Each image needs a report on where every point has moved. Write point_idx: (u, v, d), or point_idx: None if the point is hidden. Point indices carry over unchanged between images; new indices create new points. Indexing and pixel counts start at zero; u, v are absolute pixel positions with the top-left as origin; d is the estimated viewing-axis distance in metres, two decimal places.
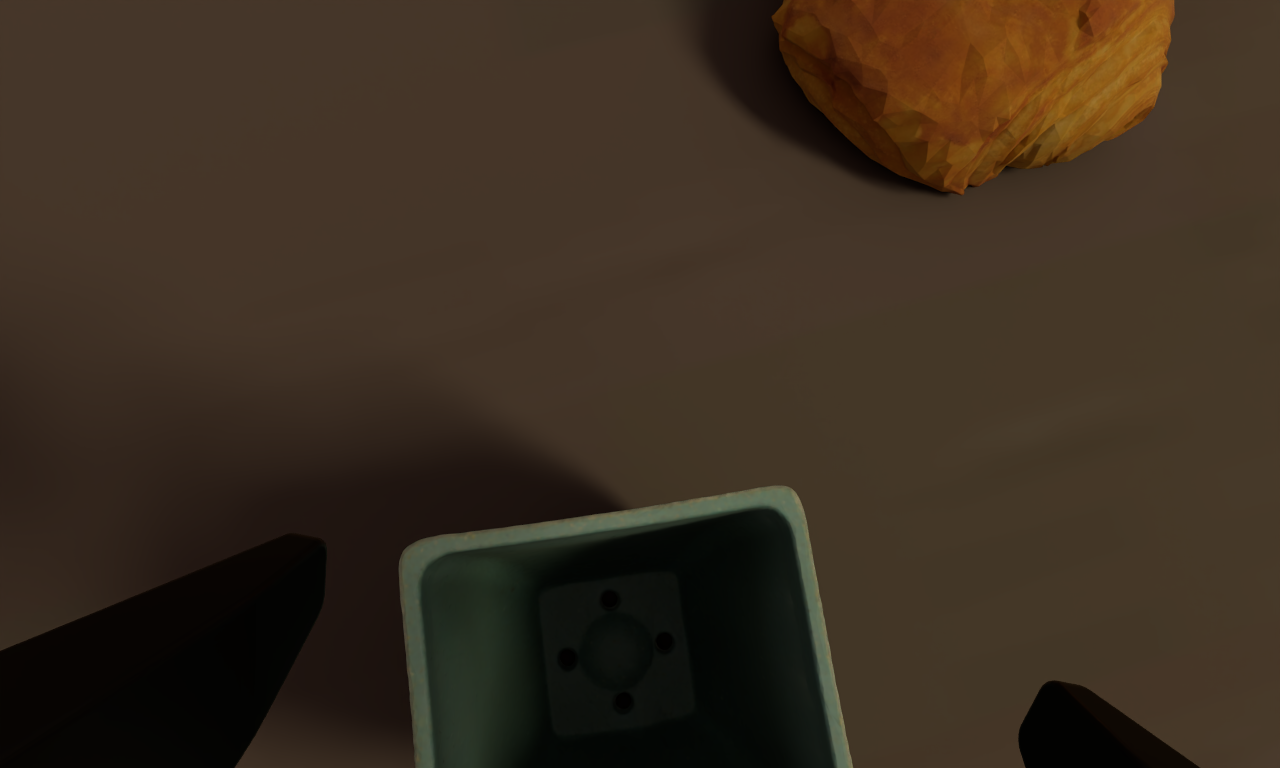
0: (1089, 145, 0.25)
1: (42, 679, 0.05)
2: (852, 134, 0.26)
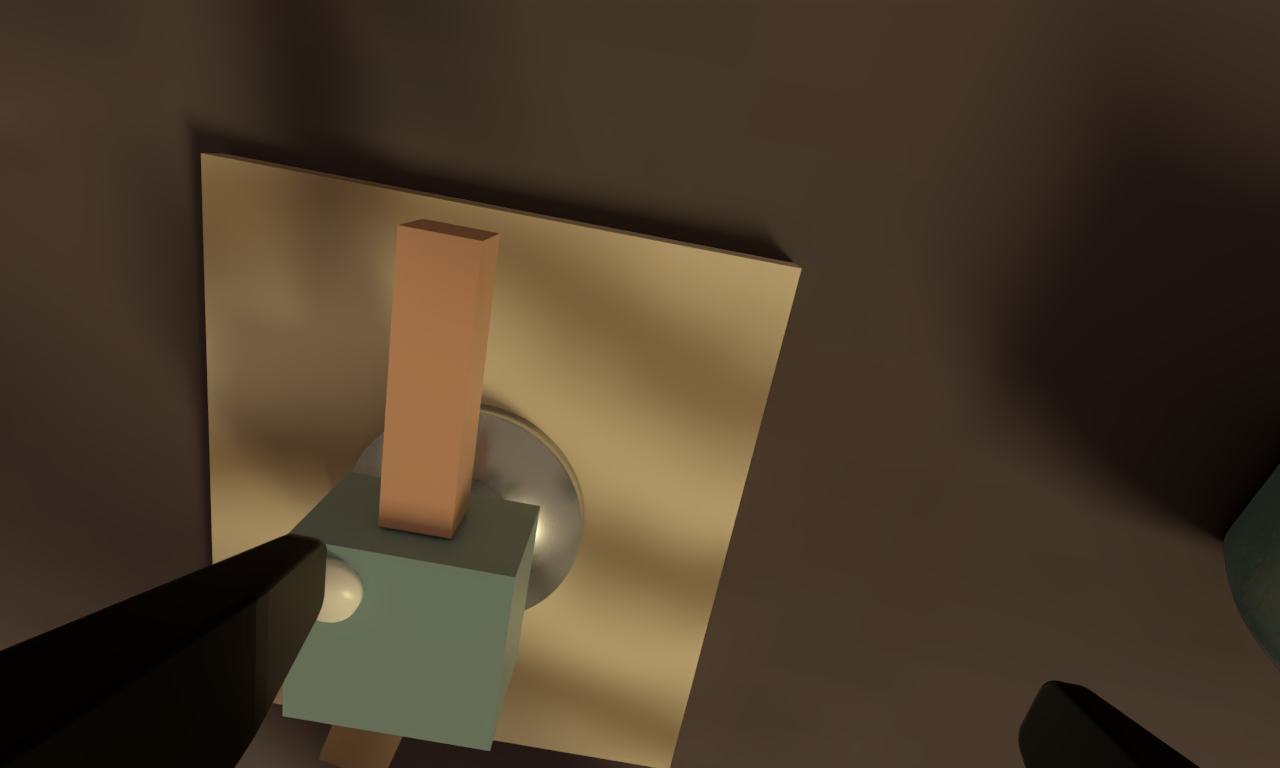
0: None
1: (42, 679, 0.05)
2: None
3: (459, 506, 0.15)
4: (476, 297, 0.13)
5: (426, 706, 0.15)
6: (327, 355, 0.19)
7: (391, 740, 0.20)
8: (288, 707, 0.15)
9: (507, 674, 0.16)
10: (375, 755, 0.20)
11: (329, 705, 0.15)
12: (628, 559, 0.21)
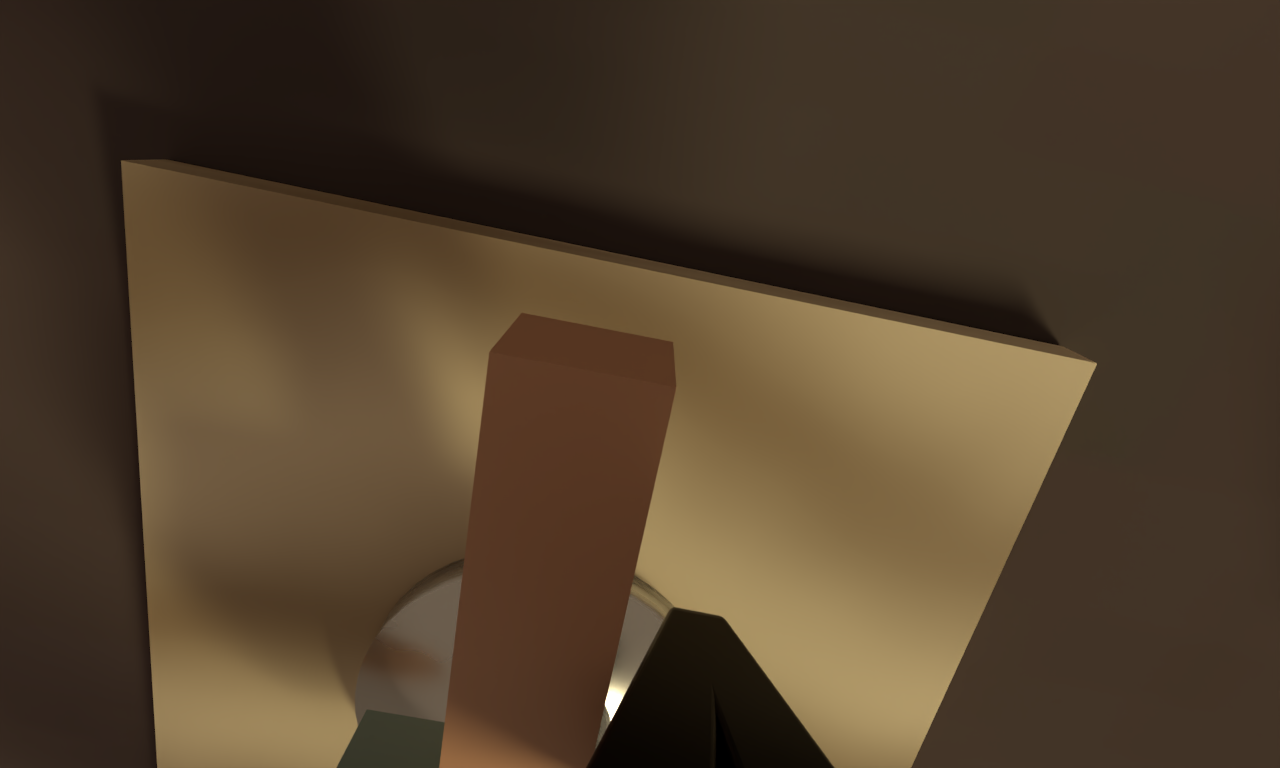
0: None
1: None
2: None
3: None
4: (651, 498, 0.06)
5: None
6: (330, 478, 0.12)
7: None
8: None
9: None
10: None
11: None
12: None
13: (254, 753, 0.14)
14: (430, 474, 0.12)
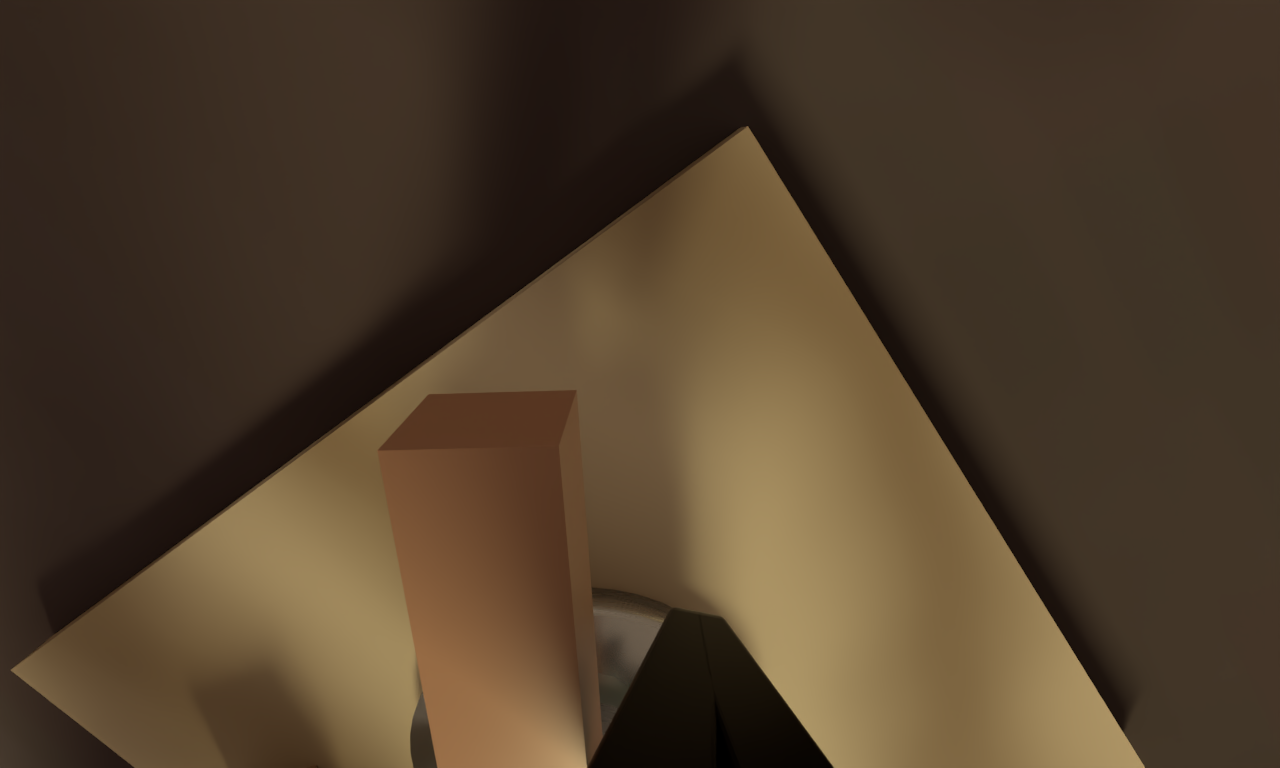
0: None
1: None
2: None
3: None
4: (567, 552, 0.06)
5: None
6: (619, 467, 0.12)
7: None
8: None
9: None
10: None
11: None
12: None
13: (285, 605, 0.13)
14: (698, 526, 0.12)
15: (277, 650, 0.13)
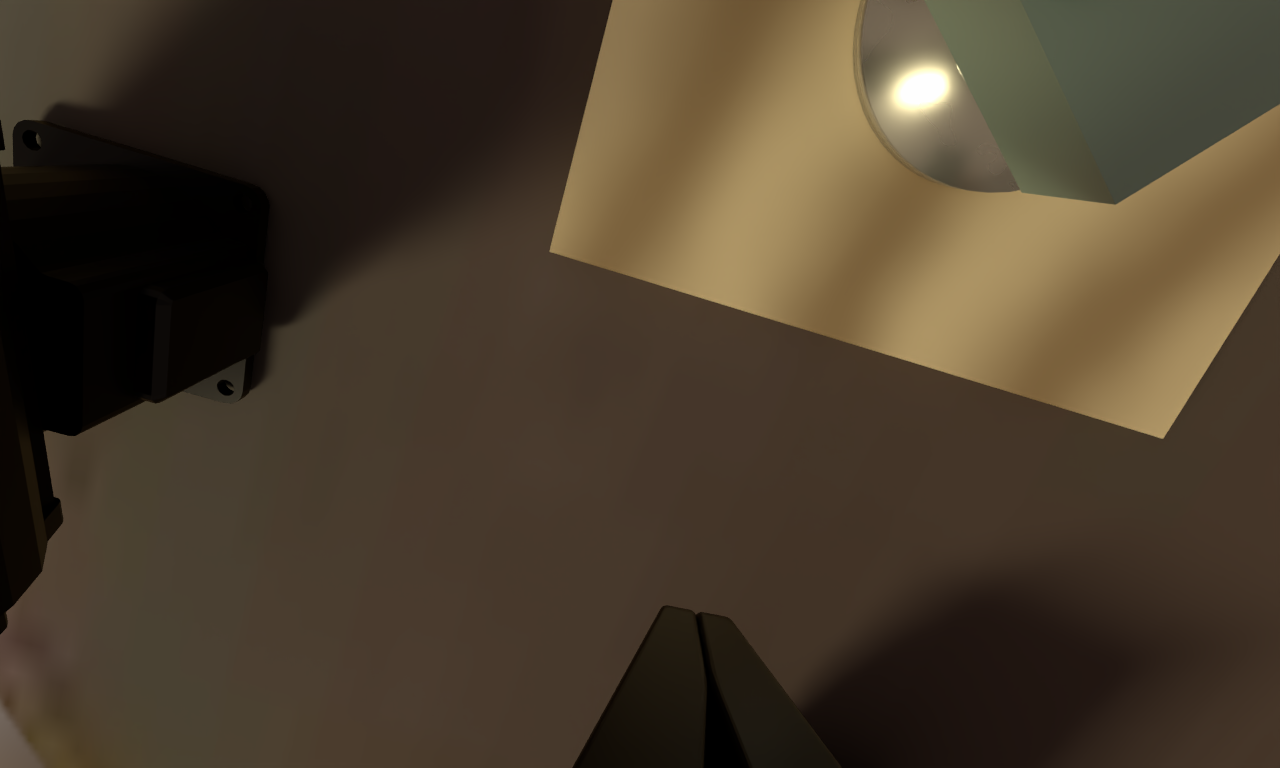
0: None
1: None
2: None
3: None
4: None
5: None
6: None
7: None
8: (1116, 184, 0.11)
9: None
10: None
11: (1166, 136, 0.10)
12: (883, 235, 0.17)
13: None
14: None
15: None
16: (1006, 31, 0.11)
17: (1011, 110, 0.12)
